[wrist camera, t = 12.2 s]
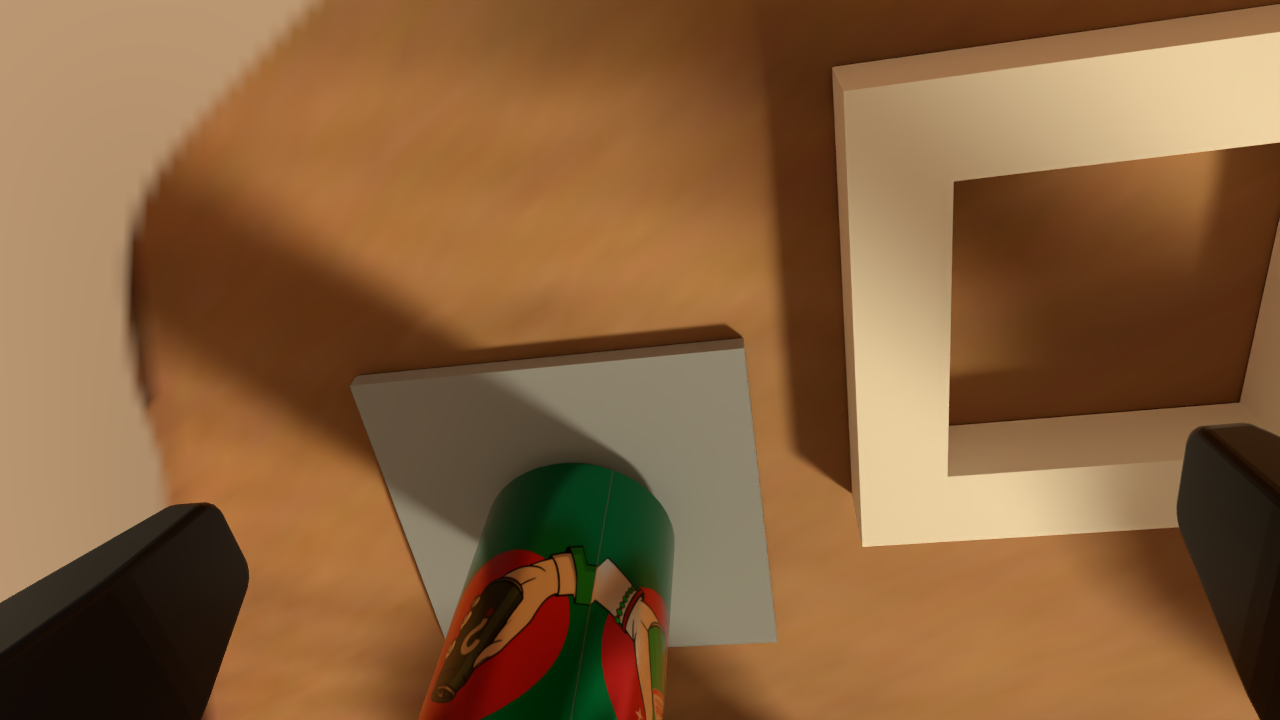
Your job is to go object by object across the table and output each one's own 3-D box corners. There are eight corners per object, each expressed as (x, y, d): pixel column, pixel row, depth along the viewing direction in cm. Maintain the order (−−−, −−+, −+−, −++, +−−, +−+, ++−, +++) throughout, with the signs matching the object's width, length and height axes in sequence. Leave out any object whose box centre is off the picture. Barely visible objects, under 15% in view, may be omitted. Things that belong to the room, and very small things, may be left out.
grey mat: (776, 628, 26) (777, 642, 26) (456, 644, 28) (452, 657, 27) (743, 337, 21) (744, 348, 21) (356, 375, 23) (349, 386, 22)
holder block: (1312, 462, 22) (1362, 516, 20) (852, 494, 24) (862, 546, 22) (1445, -20, 16) (1530, -3, 15) (832, 67, 18) (843, 91, 16)
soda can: (470, 555, 25) (296, 1055, 15) (524, 422, 23) (357, 912, 12) (635, 612, 26) (578, 1129, 15) (705, 488, 23) (693, 1008, 13)
